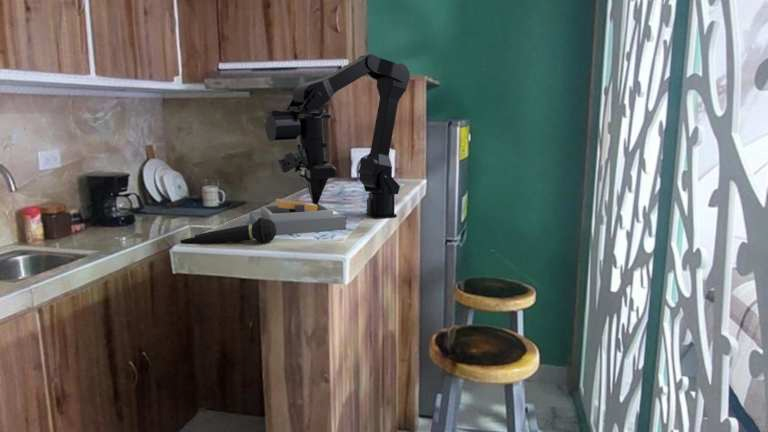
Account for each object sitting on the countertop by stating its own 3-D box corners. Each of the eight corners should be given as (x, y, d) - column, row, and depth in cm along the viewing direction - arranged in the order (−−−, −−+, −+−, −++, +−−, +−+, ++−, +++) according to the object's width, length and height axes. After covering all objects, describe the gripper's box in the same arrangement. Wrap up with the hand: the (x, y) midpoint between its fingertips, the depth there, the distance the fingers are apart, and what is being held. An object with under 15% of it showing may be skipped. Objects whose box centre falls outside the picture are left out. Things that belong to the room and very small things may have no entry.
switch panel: (328, 218, 135) (328, 196, 134) (345, 229, 122) (345, 205, 121) (250, 224, 127) (248, 200, 126) (259, 236, 115) (258, 210, 113)
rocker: (311, 208, 128) (312, 202, 128) (316, 211, 123) (317, 205, 123) (275, 204, 124) (275, 198, 124) (279, 207, 120) (280, 201, 119)
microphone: (181, 260, 108) (277, 247, 108) (173, 236, 105) (272, 223, 105) (187, 246, 112) (279, 233, 113) (179, 223, 109) (274, 210, 110)
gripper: (269, 138, 128) (274, 201, 131) (286, 142, 111) (290, 214, 114) (313, 136, 132) (317, 197, 135) (336, 139, 115) (339, 209, 118)
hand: (315, 204), depth 125 cm, fingers closed, pressing on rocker
